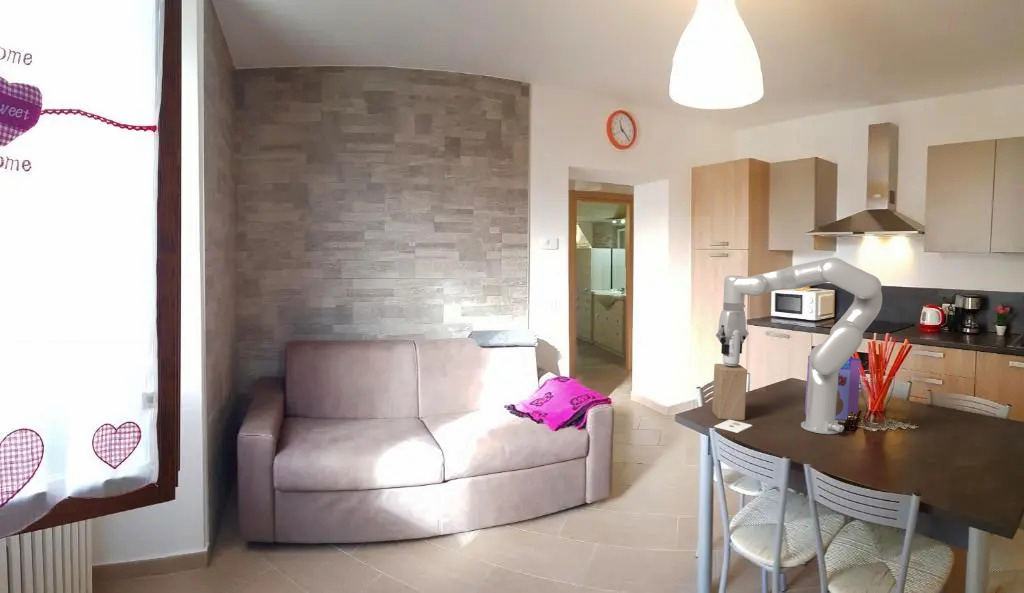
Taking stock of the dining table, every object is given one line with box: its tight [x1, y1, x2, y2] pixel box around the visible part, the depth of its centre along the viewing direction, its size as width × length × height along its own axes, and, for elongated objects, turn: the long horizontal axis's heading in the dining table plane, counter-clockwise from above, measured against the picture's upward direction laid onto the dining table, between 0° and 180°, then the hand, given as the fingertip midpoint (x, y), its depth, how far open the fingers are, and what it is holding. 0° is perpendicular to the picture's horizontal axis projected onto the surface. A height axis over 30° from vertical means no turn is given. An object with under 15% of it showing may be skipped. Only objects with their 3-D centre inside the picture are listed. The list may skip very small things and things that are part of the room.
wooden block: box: [711, 363, 748, 421], centre depth 224 cm, size 10×10×20 cm
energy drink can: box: [722, 329, 741, 366], centre depth 222 cm, size 6×6×15 cm
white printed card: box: [713, 419, 753, 434], centre depth 213 cm, size 9×12×1 cm
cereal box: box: [804, 355, 862, 421], centre depth 225 cm, size 17×5×24 cm, turn 76°
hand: (731, 353), depth 222 cm, fingers closed on energy drink can, 6 cm apart
